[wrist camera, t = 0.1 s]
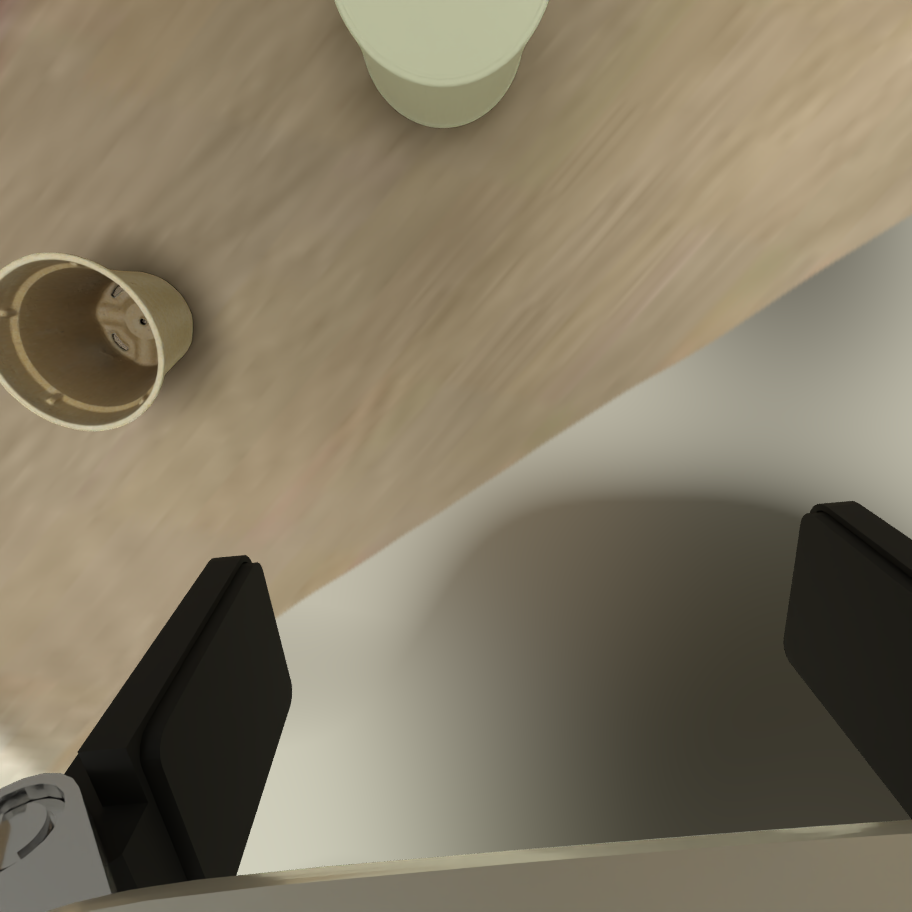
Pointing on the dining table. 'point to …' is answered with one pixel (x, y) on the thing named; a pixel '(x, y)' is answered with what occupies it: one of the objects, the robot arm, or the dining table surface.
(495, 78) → the can
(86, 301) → the flower pot
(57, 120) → the dining table surface
